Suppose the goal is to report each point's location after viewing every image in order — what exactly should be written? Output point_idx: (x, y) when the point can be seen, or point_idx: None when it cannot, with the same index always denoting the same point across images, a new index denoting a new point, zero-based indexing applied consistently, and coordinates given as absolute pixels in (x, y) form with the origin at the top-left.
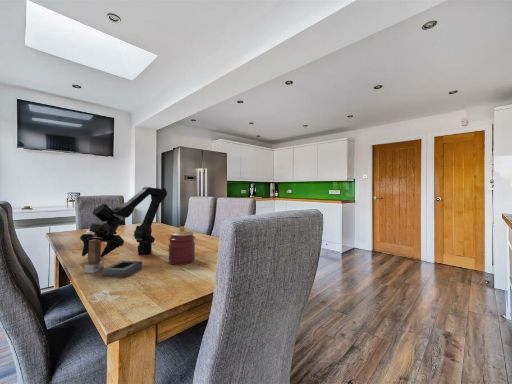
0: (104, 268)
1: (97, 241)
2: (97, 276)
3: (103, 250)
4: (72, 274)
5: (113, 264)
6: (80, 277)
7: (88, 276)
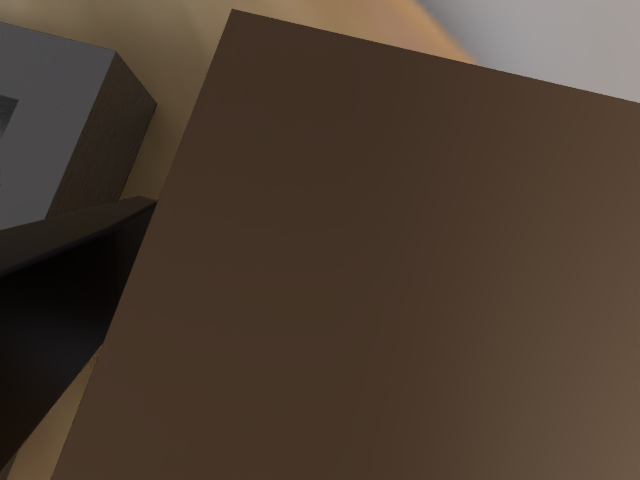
0: (93, 73)
1: (165, 312)
2: None
3: (47, 246)
4: None
5: None
6: None
7: None
